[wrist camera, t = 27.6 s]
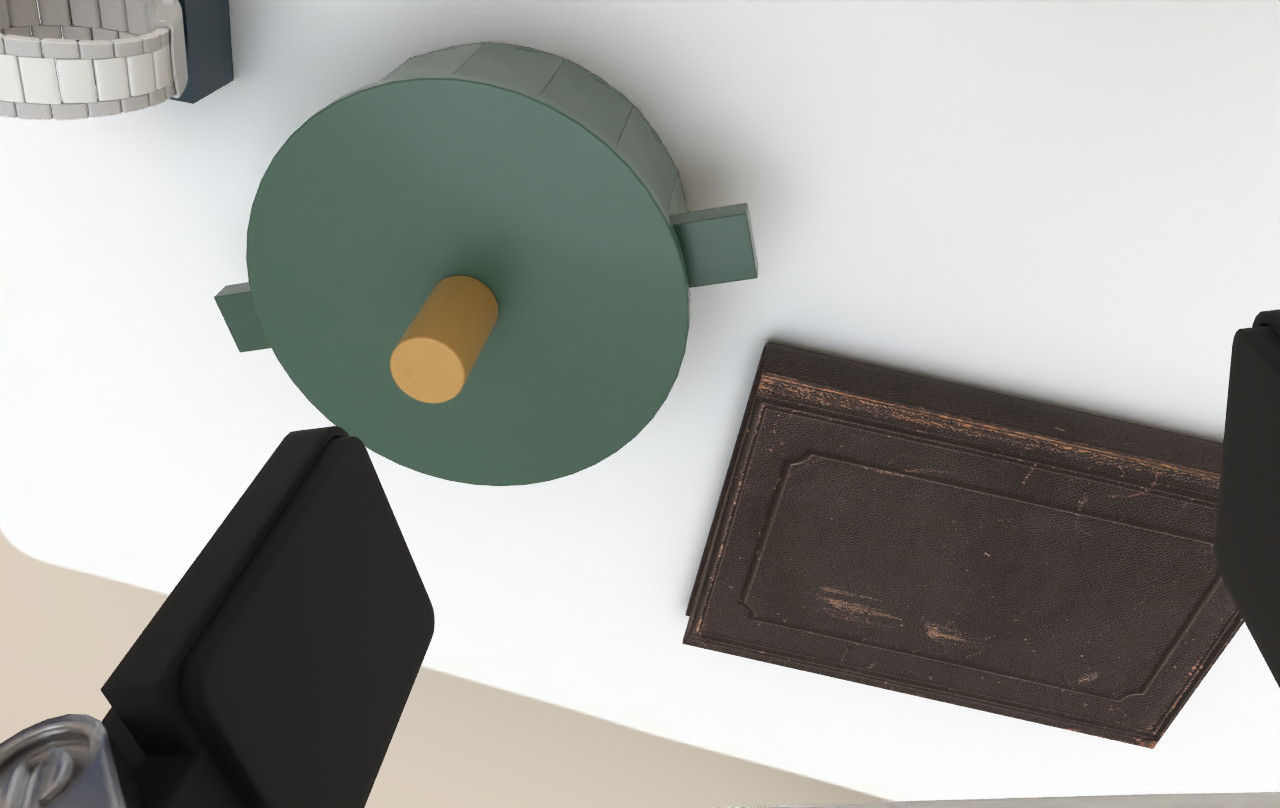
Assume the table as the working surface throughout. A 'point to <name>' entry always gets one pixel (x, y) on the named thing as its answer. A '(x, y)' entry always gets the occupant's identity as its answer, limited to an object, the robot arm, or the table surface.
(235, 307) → the green cooking pot
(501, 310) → the pot lid
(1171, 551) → the hardcover book
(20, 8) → the watch
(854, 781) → the table surface
